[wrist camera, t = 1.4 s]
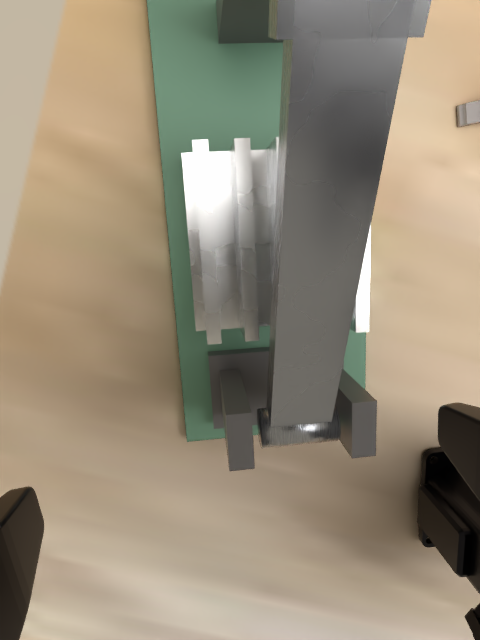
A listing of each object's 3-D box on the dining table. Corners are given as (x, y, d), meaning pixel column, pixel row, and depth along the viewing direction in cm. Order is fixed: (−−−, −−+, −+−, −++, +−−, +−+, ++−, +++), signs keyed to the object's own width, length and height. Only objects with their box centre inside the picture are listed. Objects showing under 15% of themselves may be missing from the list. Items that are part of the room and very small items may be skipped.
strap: (415, -57, 9) (453, -67, 8) (326, 418, 18) (337, 448, 17) (268, -57, 9) (283, -68, 7) (256, 424, 18) (262, 456, 17)
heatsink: (348, 152, 20) (384, 132, 16) (347, 312, 22) (380, 330, 18) (182, 159, 19) (178, 140, 15) (196, 324, 21) (195, 345, 17)
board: (365, -19, 19) (370, -27, 18) (360, 419, 24) (364, 424, 23) (146, -18, 18) (144, -26, 18) (187, 436, 23) (187, 441, 22)
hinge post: (338, 341, 22) (389, 381, 16) (338, 410, 23) (387, 471, 17) (207, 351, 21) (211, 397, 15) (213, 422, 22) (218, 490, 16)
